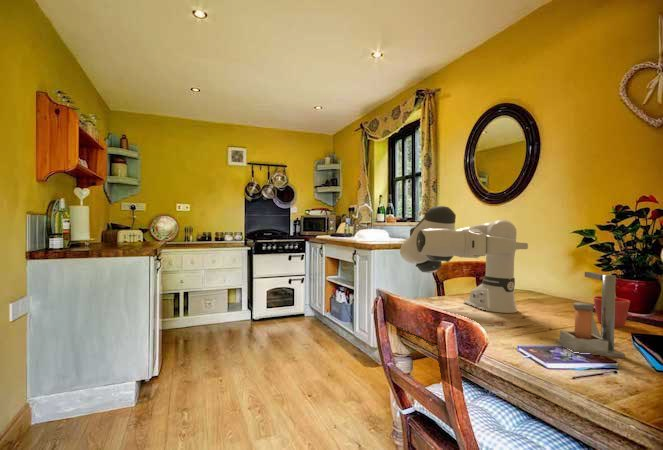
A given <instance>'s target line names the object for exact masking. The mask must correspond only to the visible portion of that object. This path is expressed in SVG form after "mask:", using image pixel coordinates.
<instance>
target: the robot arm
mask: <svg viewBox="0 0 663 450" xmlns="http://www.w3.org/2000/svg"><path fill="white" fill-rule="evenodd" d="M456 216H457V215H456V213H455V212H454V211H453V210H452V208H450V207H448V206H445V205H443V206H442V205H438V206H432V207H430V208H429V209H427V210H426V211H425V212H424V216H423V218H422V219H421V220H419V222H418V223H417V224H416V225H414V226H413V227H411V229H410V230H409V237H408V238H407V239H406V240H404V241H403V243H402V244H401V245H400V248H399V253H400V256H401V258H402V259H403V260H404V261H406V262H408V263H410V264H415V267H416V268H418V271H420V272H422V273H425V274H432V273H435V272H437V271H438V270H440V269H441V268H442V262H446V263H449V262H450V261H451V260H452V259H453V258H454V257H457V258H467V259H478V258H480V257H485V275H484V276H482V277H480V280H482V281H481V284H479V285H477V286H476V287H475V288H472V290H470V294H469V299H465V300H464V301H463V303H464V302H465V303H467V304H470V305H472V306H474V307H473V308H475V307H477V308H476V309H478V308H479V309H478V310H480V309H482V310H481V311H483V310H486V311H487V312H495V313H502V314H503V313H507V314H509V313H510V314H511V313H512V314H513V313H517V312H518V309H517V305H516V299H515V290H514V289H515V285H516V279H515V277H514V276H515V274H514V273H515V256H516V255H515V254H516V251H517V250H528V248H529V244H528V243H527V242H518V241H517V228H516V226H515V225H514V224H513V222H511V221H510V220H507V219H496V220H494V221H489V222H488V221H487V222H484V223H479V224H476V225H471V226H466V227H461V228H458V229H457V228H456V227H455V225H456ZM455 228H456V229H455ZM465 303H464V304H465ZM467 304H466V305H467ZM470 305H469V306H470ZM472 306H471V307H472ZM486 311H485V312H486Z"/></svg>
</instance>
